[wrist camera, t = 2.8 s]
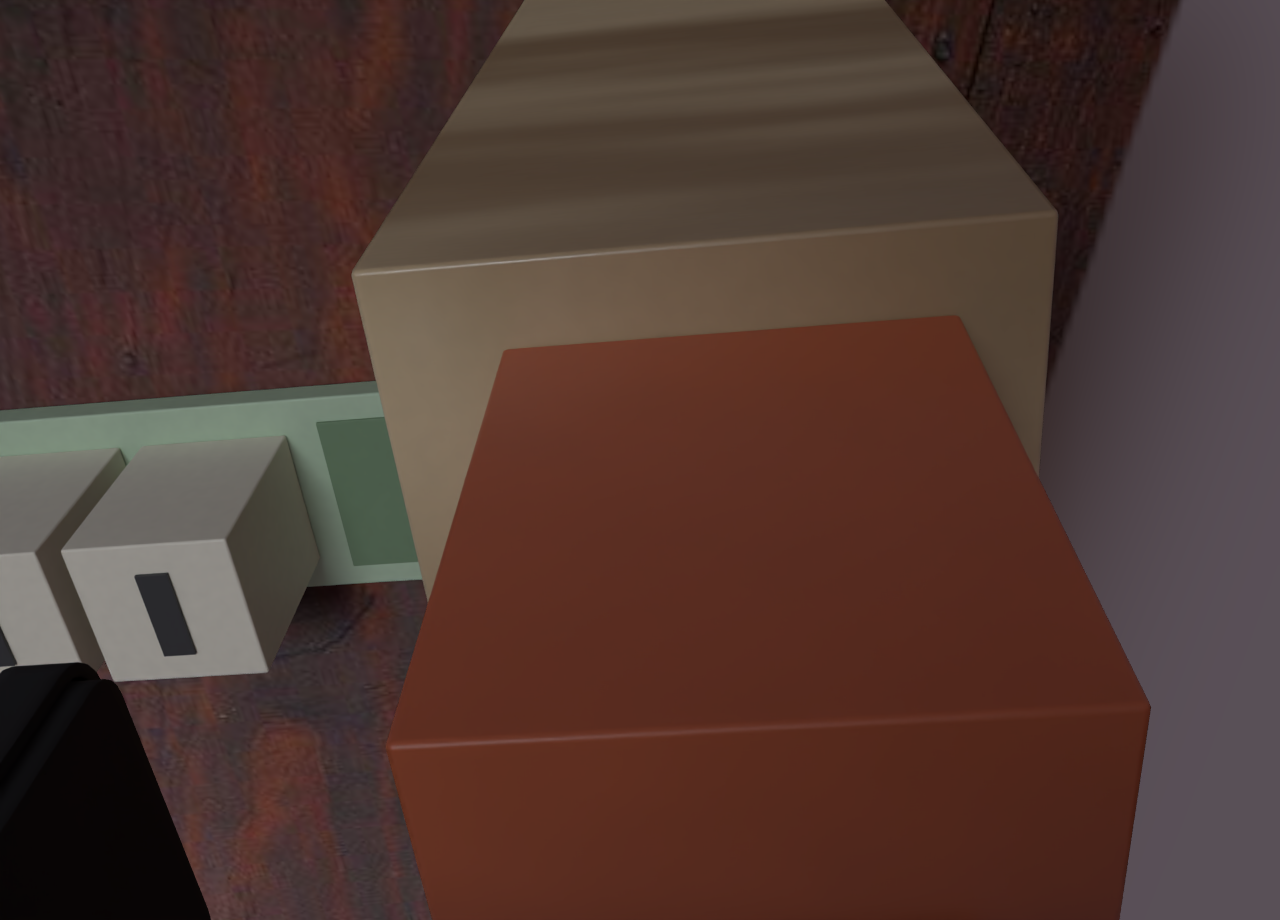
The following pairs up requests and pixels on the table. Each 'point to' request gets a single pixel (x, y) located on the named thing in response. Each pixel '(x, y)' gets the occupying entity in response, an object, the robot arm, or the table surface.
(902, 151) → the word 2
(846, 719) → the red block
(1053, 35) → the table surface
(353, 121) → the table surface
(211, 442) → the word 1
